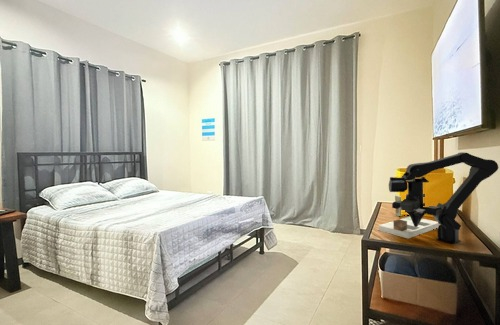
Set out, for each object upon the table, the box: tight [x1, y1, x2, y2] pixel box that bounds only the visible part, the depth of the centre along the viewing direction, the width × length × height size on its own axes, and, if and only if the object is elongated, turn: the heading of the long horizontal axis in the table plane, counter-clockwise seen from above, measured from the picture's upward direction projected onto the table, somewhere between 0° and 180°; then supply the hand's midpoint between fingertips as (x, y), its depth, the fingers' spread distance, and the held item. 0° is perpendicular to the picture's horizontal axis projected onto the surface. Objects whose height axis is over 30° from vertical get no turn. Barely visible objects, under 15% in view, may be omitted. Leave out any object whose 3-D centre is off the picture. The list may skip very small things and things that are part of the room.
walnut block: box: [392, 219, 407, 231], centre depth 120 cm, size 4×4×4 cm
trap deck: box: [377, 216, 440, 239], centre depth 128 cm, size 14×28×2 cm, turn 119°
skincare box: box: [394, 194, 401, 217], centre depth 151 cm, size 6×4×12 cm
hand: (416, 226), depth 114 cm, fingers closed
